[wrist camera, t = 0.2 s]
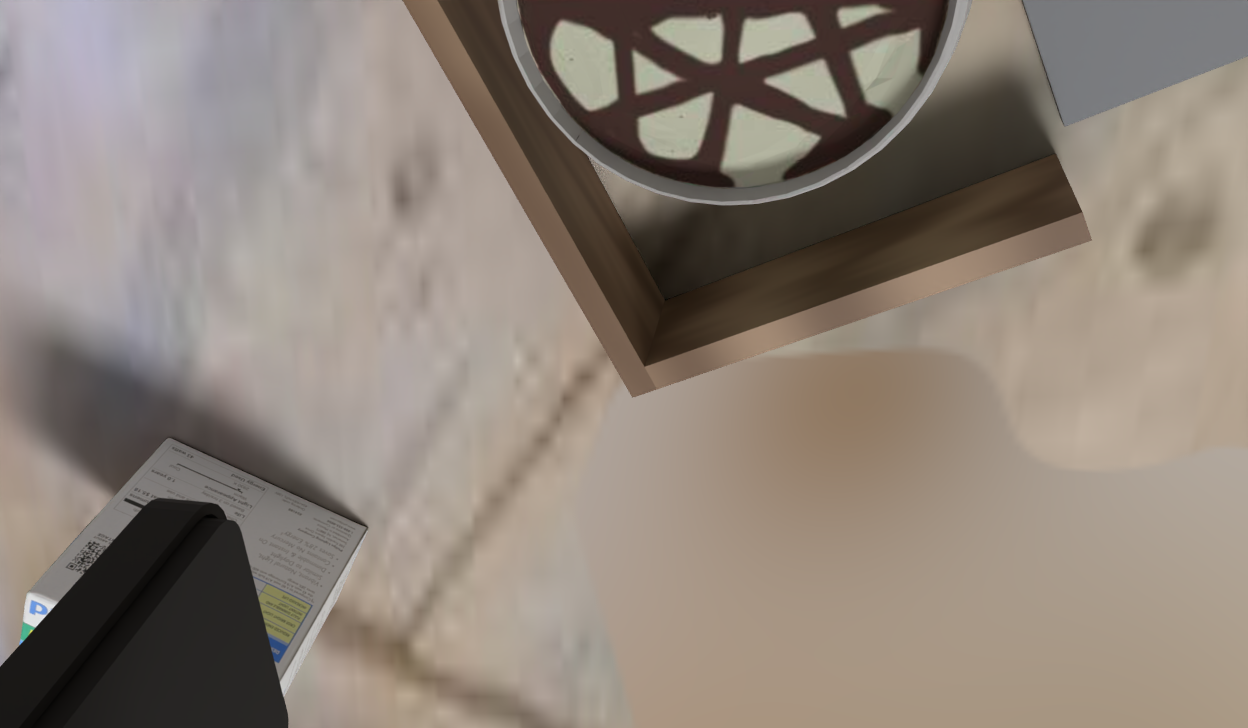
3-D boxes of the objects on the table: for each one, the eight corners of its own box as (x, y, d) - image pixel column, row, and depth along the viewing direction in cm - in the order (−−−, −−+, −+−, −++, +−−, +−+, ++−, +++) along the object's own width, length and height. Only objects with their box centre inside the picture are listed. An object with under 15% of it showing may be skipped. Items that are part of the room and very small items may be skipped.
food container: (578, 105, 39) (502, 218, 30) (565, -77, 35) (477, -8, 27) (931, 109, 36) (955, 232, 28) (952, -84, 33) (986, -11, 25)
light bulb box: (144, 523, 54) (3, 688, 45) (166, 429, 50) (17, 588, 41) (338, 610, 55) (238, 789, 46) (374, 524, 51) (272, 700, 42)
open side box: (861, -423, 29) (862, -443, 25) (1064, 178, 37) (1091, 240, 33) (397, -137, 35) (336, -115, 31) (653, 329, 43) (632, 397, 39)
